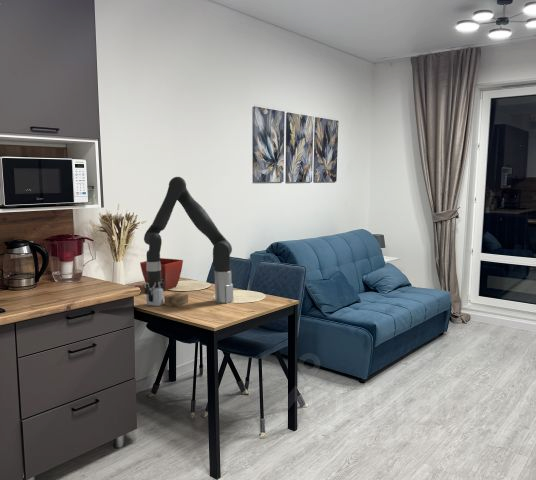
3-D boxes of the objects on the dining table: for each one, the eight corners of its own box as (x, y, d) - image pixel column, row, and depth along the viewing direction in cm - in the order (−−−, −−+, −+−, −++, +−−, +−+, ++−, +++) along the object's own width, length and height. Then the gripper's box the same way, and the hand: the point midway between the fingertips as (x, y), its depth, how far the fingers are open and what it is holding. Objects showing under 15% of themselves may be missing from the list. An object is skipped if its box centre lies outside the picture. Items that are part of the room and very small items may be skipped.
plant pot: (160, 283, 315) (159, 257, 313) (184, 286, 306) (183, 259, 304) (140, 289, 298) (139, 262, 296) (165, 292, 289) (164, 264, 287)
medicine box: (163, 304, 264) (163, 288, 263) (159, 306, 260) (159, 290, 259) (150, 303, 266) (150, 287, 265) (146, 305, 262) (145, 289, 261)
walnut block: (188, 303, 267) (188, 294, 266) (178, 307, 259) (177, 298, 258) (175, 301, 271) (174, 292, 270) (164, 305, 263) (164, 296, 262)
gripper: (148, 272, 252) (150, 304, 255) (168, 267, 264) (169, 298, 267) (138, 271, 256) (140, 302, 259) (158, 266, 268) (159, 296, 271)
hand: (155, 300), depth 263 cm, fingers closed on medicine box, 5 cm apart
